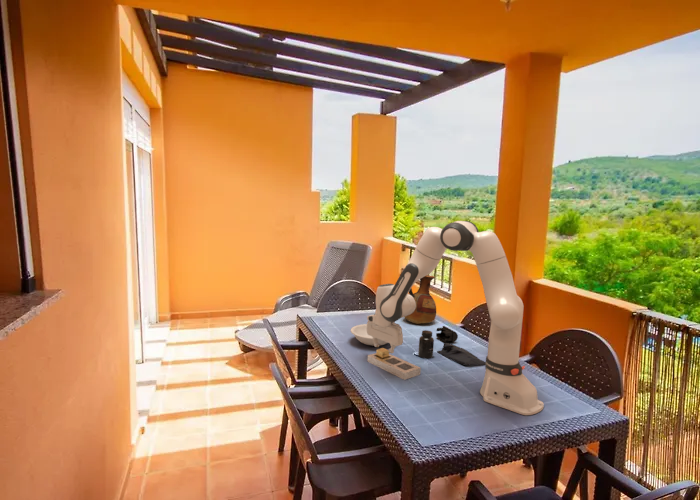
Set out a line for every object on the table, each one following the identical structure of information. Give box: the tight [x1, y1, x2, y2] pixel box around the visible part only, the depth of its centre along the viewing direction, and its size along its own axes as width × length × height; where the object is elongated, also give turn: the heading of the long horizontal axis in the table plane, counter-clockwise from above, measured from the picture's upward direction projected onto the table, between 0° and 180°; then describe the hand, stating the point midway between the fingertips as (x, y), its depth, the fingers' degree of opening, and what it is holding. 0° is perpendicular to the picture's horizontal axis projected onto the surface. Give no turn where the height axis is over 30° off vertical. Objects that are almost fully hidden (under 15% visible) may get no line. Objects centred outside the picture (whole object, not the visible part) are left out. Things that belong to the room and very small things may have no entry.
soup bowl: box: [350, 323, 388, 347], centre depth 208 cm, size 24×24×7 cm
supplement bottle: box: [418, 329, 435, 359], centre depth 193 cm, size 7×7×12 cm
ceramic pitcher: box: [403, 274, 437, 325], centre depth 249 cm, size 20×20×30 cm
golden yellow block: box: [375, 347, 390, 359], centre depth 183 cm, size 4×4×6 cm
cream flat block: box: [367, 352, 422, 381], centre depth 178 cm, size 23×10×3 cm, turn 39°
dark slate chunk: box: [436, 343, 486, 366], centre depth 193 cm, size 15×22×5 cm
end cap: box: [435, 325, 458, 344], centre depth 217 cm, size 10×7×7 cm
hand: (383, 349), depth 182 cm, fingers open, 8 cm apart
